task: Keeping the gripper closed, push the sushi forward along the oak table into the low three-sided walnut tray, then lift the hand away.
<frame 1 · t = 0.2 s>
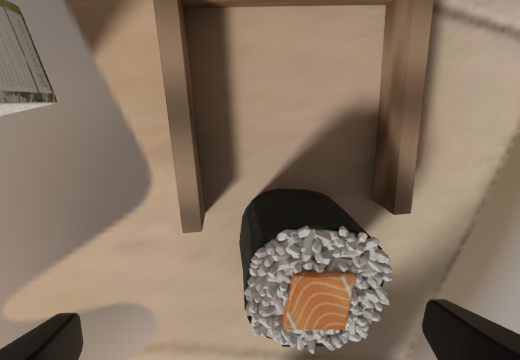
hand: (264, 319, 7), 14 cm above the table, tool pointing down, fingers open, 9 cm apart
sushi: (291, 233, 23), on the table
tray: (289, 103, 20), on the table
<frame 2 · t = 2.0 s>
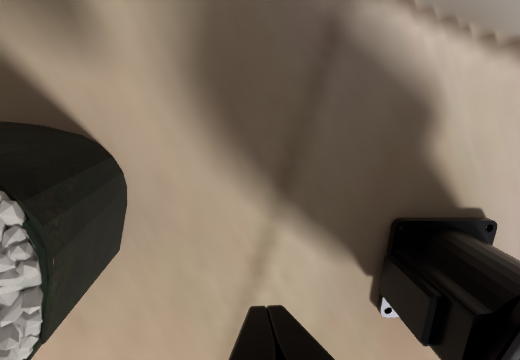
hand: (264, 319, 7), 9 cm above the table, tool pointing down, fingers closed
sushi: (44, 201, 15), on the table
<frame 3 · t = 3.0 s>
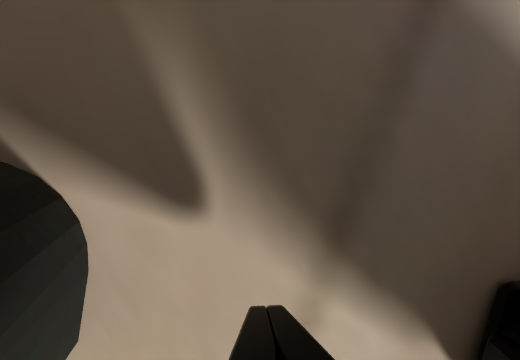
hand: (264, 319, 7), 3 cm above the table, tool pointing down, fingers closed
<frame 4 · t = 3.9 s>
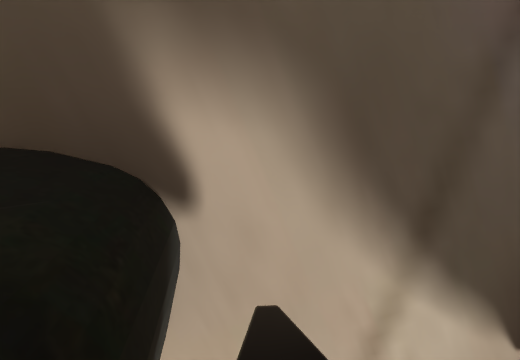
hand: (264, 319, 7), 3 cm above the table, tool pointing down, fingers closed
sushi: (51, 267, 9), on the table, touching gripper
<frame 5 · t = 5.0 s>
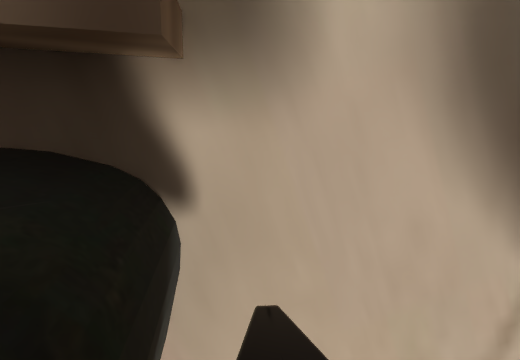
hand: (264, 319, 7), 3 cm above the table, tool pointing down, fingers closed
sushi: (51, 267, 9), on the table, touching gripper
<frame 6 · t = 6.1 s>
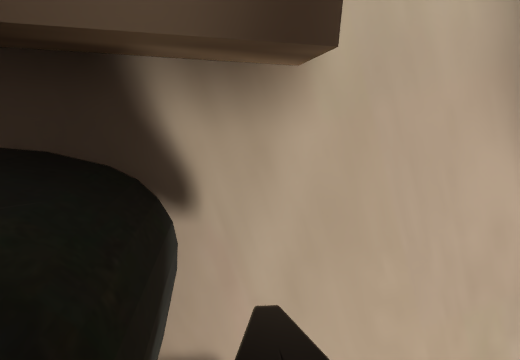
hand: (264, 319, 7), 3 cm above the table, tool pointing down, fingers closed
sushi: (48, 268, 9), on the table, touching gripper
tray: (48, 270, 9), on the table
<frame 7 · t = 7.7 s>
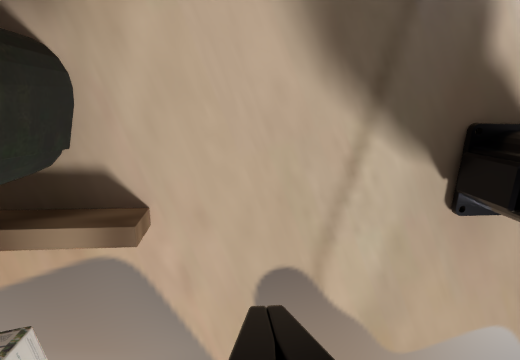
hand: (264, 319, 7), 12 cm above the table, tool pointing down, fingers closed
sushi: (0, 102, 17), on the table
tray: (0, 101, 16), on the table
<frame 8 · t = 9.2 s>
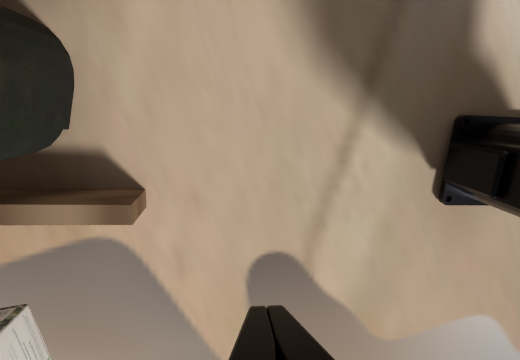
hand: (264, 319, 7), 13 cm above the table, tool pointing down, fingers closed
sushi: (2, 82, 17), on the table
tray: (2, 80, 17), on the table
syrup box: (4, 337, 21), on the table
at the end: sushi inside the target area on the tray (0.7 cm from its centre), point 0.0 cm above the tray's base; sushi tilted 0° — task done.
